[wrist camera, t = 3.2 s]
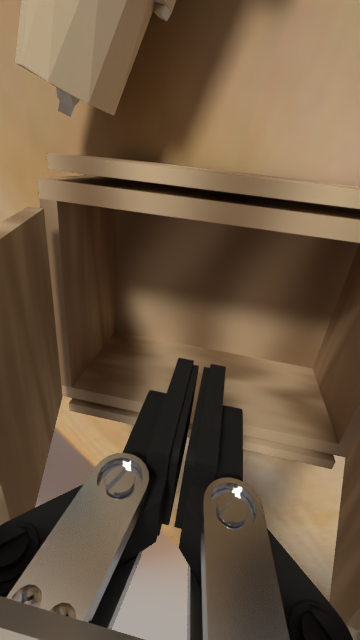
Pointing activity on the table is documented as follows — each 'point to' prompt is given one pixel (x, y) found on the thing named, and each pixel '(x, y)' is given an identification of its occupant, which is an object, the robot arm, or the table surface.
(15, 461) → the flap
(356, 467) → the flap
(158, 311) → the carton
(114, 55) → the butterfly valve
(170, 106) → the table surface
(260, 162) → the table surface
